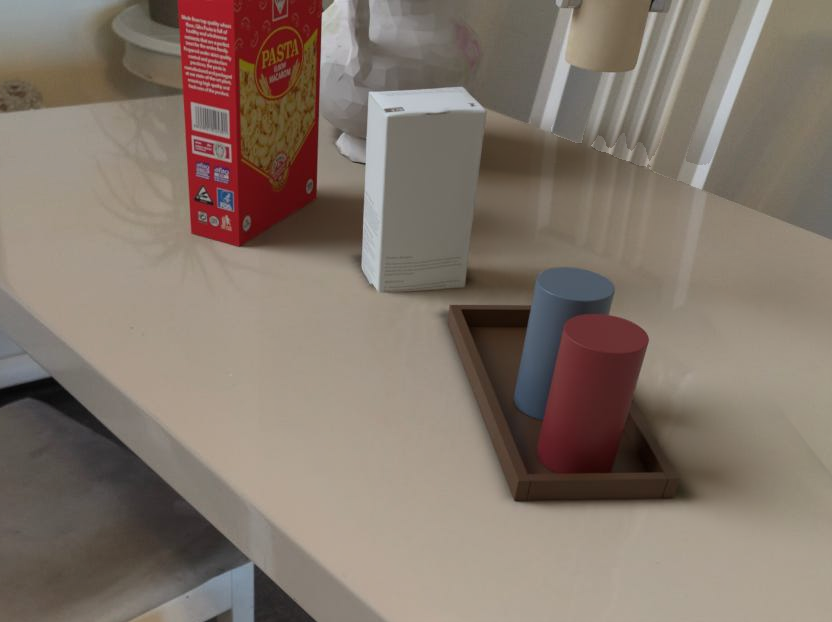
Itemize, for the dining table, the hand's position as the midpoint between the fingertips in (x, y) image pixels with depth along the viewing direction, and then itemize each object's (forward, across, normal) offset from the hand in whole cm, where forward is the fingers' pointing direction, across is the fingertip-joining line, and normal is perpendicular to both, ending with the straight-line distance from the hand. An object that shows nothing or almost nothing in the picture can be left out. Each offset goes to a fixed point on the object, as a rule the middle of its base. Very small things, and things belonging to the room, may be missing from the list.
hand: (610, 9), depth 72 cm
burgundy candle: (+21, +6, +28) cm, 36 cm away
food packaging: (+21, +26, -15) cm, 37 cm away
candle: (+4, 0, 0) cm, 4 cm away
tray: (+21, +6, +21) cm, 30 cm away
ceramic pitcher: (+21, +11, -34) cm, 42 cm away
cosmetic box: (+21, +13, 0) cm, 25 cm away
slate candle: (+21, +6, +21) cm, 30 cm away
